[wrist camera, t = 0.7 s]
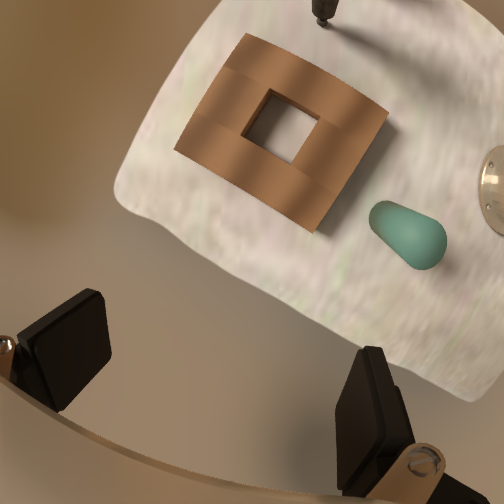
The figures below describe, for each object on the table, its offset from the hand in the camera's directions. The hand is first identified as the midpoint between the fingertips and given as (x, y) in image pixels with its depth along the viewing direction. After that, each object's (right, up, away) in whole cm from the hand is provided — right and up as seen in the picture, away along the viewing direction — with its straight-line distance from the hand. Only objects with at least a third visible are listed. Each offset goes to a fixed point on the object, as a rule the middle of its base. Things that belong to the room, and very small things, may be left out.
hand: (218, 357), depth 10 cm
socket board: (+5, +18, +22) cm, 28 cm away
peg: (+17, +8, +23) cm, 30 cm away
